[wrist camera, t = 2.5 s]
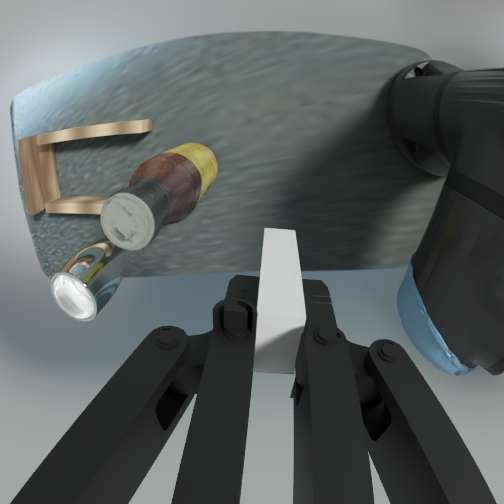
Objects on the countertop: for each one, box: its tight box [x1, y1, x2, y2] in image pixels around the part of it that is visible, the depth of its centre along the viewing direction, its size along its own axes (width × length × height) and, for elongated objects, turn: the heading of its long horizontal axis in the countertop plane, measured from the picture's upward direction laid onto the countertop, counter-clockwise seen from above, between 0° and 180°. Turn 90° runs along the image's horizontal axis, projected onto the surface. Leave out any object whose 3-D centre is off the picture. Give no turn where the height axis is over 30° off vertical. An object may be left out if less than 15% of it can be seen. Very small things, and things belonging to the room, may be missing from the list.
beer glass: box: [51, 235, 145, 322], centre depth 34 cm, size 7×7×15 cm
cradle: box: [18, 119, 152, 215], centre depth 34 cm, size 22×12×4 cm, turn 87°
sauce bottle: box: [100, 143, 218, 251], centre depth 26 cm, size 6×6×20 cm
